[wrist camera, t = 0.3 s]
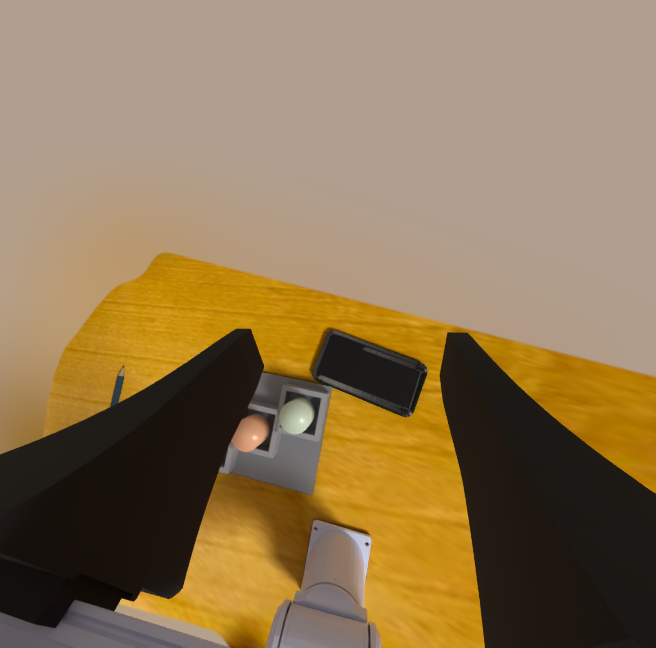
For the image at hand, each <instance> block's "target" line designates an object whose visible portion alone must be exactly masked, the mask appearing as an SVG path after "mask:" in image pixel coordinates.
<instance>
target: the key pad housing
mask: <svg viewBox="0 0 656 648" xmlns="http://www.w3.org/2000/svg"><path fill="white" fill-rule="evenodd" d="M331 390H332V387H331V386H327V385H323V384H318V383H313V382H308V381H303V380H299V379H294V378H289V377H284V376H279V375H275V374H270V373H265V372H262V375H261V378H260V381H259V384H258V387H257V389H256V391H255V394H254V396H253V398H252V400H251V402H250V404H249V406H248V408H247V410H246V412H245V414H244V416H243V418H242V419H244V418H246V417H248V416H250V415H252V414H260V415H263V416H264V417H265V418H266V419H267V420H268V422H269V425H270V433H269V435H268V437H267V439H266V440H265V441H263V442H262V443H261V444H260V445H259V446H257V447H256V448H255V449H254V450H252V451H249V452H242V451H240V450H238V449H237V448H236V447H235V446H234V445H233V443H232V440H231V442H230V444H229V447H228V449H227V451H226V453H225V456H224V459H223V461H222V464H221V467H220V469H219V472H221V473H225V474H229V473H233V474H236V475H240V476H244V477H247V478H251V479H254V480H258V481H262V482H265V483H269V484H273V485H276V486H280V487H283V488H287V489H291V490H294V491H298V492H301V493H305V494H309V495H312V494H313V489H314V484H315V478H316V473H317V467H318V462H319V456H320V451H321V445H322V440H323V434H324V429H325V423H326V418H327V412H328V407H329V401H330V395H331ZM300 397H302V398H306V399H308V400H309V401H310V402H311V403H312V404H313V406H314V409H315V417H314V419H313V421H312V423H311V424H310V425H309V426H308V427H307V429H306V430H305V431H304V432H302V433H300V434H290V433H288V432H286V431H285V430H284V429H283V428H282V426H281V424H280V421H279V414H280V411H281V409H282V407H283V406H284V405H285V404H287V403H288V402H290V401H292V400H294V399H296V398H300Z"/></svg>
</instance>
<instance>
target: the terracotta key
mask: <svg viewBox="0 0 656 648" xmlns="http://www.w3.org/2000/svg"><path fill="white" fill-rule="evenodd" d="M269 433H270V425H269V422H268V420H267V419H266V418H265V417H264V416H263V415H260V414H252V415H250V416H248V417H246V418H244V419H242V420H241V422H240V424H239V426H238V428H237V430H236V432H235V434H234V436H233V438H232V443H233V445H234V446H235V447H236V448H237V449H238V450H240V451H242V452H249V451H252V450H254V449H255V448H256V447H257V446H259V445H260V444H261V443H262V442H263V441H265V440H266V439H267V437H268V435H269Z"/></svg>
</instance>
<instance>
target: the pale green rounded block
mask: <svg viewBox="0 0 656 648" xmlns="http://www.w3.org/2000/svg"><path fill="white" fill-rule="evenodd" d="M314 417H315V409H314V406H313V404H312V403H311V402H310V401H309V400H308V399H306V398H302V397H300V398H296V399H294V400H292V401H290V402H288V403H287V404H285V405H284V406H283V407H282V409H281V411H280V414H279V421H280V424H281V426H282V428H283V429H284V430H285V431H286V432H288V433H290V434H300V433H302V432H304V431H305V430H306V429H307V427H308V426H309V425H310V424H311V423H312V421H313V419H314Z"/></svg>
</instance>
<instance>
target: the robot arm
mask: <svg viewBox="0 0 656 648" xmlns="http://www.w3.org/2000/svg"><path fill="white" fill-rule="evenodd" d="M263 368H264V364H263V362H262V359H261V356H260V353H259V351H258V348H257V345H256V342H255V339H254V337H253V334H252V331H251V329H235V330H234V331H232V332H230V333H229V334H227V335H226V336H224V337H223V338H221V339H220V340H218V341H217V342H215V343H214V344H213V345H211V346H210V347H208V348H207V349H205V350H204V351H202V352H201V353H200V354H198V355H197V356H195V357H194V358H192V359H191V360H189V361H188V362H187V363H185V364H183V365H182V366H180V367H179V368H177V369H176V370H174V371H173V372H171V373H170V374H168V375H166V376H165V377H163V378H162V379H160V380H159V381H157V382H155V383H154V384H152V385H150V386H149V387H147V388H145V389H143V390H142V391H140V392H138V393H136V394H134V395H133V396H131V397H129V398H127V399H125V400H124V401H122V402H120V403H118V404H116V405H114V406H112V407H110V408H108V409H106V410H104V411H101V412H99V413H97V414H95V415H93V416H91V417H89V418H87V419H85V420H83V421H81V422H79V423H76V424H74V425H72V426H70V427H67V428H65V429H63V430H61V431H58V432H56V433H54V434H51V435H49V436H46V437H44V438H42V439H40V440H37V441H34V442H32V443H29V444H27V445H24V446H22V447H19V448H16V449H14V450H11V451H8V452H6V453H3V454H0V648H230V647H227V646H223V645H220V644H217V643H214V642H211V641H208V640H204V639H201V638H198V637H195V636H191V635H188V634H185V633H182V632H178V631H175V630H172V629H169V628H165V627H162V626H159V625H156V624H153V623H149V622H146V621H143V620H140V619H137V618H133V617H130V616H127V615H124V614H120V613H117V612H114V611H115V609H116V607H117V605H118V604H119V602H120V600H121V598H123V599H126V600H130V601H133V602H134V601H135V600H136V599H137V597H138V595H139V593H140V592H141V591H142V592H146V593H149V594H153V595H156V596H160V597H163V598H167V599H170V598H172V597H173V596H175V595H176V594H177V593H178V592H179V591H180V590H181V589H182V588H183V585H184V581H185V577H186V573H187V570H188V566H189V562H190V559H191V555H192V552H193V548H194V544H195V541H196V537H197V534H198V531H199V528H200V525H201V521H202V518H203V515H204V512H205V509H206V506H207V503H208V500H209V497H210V494H211V491H212V488H213V486H214V483H215V480H216V477H217V474H218V472H219V469H220V467H221V464H222V461H223V459H224V456H225V453H226V451H227V449H228V447H229V444H230V442H231V440H232V438H233V436H234V434H235V432H236V430H237V428H238V426H239V424H240V422H241V420H242V418H243V416H244V414H245V412H246V410H247V408H248V406H249V404H250V402H251V400H252V398H253V396H254V394H255V391H256V389H257V387H258V384H259V381H260V378H261V375H262V372H263ZM440 382H441V390H442V398H443V404H444V408H445V412H446V416H447V420H448V424H449V428H450V432H451V436H452V439H453V443H454V447H455V451H456V455H457V459H458V463H459V467H460V471H461V476H462V481H463V486H464V492H465V499H466V505H467V511H468V518H469V525H470V531H471V538H472V545H473V552H474V560H475V567H476V575H477V583H478V591H479V598H480V607H481V616H482V625H483V633H484V642H485V648H656V494H655V493H654V492H652V491H651V490H649V489H648V488H646V487H645V486H644V485H642V484H641V483H639V482H638V481H637V480H635V479H634V478H632V477H631V476H630V475H628V474H627V473H625V472H624V471H623V470H621V469H620V468H618V467H617V466H616V465H614V464H613V463H611V462H610V461H609V460H607V459H606V458H604V457H603V456H602V455H600V454H599V453H598V452H596V451H595V450H594V449H592V448H591V447H590V446H589V445H587V444H586V443H585V442H583V441H582V440H581V439H580V438H578V437H577V436H576V435H575V434H573V433H572V432H571V431H570V430H568V429H567V428H566V427H565V426H563V425H562V424H561V423H560V422H558V421H557V420H556V419H555V418H554V417H552V416H551V415H550V414H549V413H548V412H547V411H545V410H544V409H543V408H542V407H541V406H540V405H539V404H538V403H536V402H535V401H534V400H533V399H532V398H531V397H530V396H529V395H528V394H526V393H525V392H524V391H523V390H522V389H521V388H520V387H519V386H518V385H517V384H516V383H515V382H514V381H513V380H512V379H511V378H510V377H509V376H508V375H507V374H506V373H505V372H504V371H503V370H502V369H501V368H500V367H499V366H498V365H497V364H496V363H495V362H494V361H493V360H492V359H491V357H490V356H489V355H488V354H487V353H486V352H485V351H484V350H483V349H482V348H481V347H480V346H479V344H478V343H477V342H476V341H475V340H474V339H473V338H472V337H471V336H470V335H469V334H468V333H451V332H448V333H447V338H446V344H445V349H444V355H443V360H442V366H441V371H440ZM314 527H317V529H315V528H314ZM366 542H368V543H369V544H365V543H366ZM370 547H371V536H370V535H368V534H364V533H361V532H358V531H354V530H351V529H347V528H344V527H340V526H337V525H333V524H330V523H327V522H323V521H320V520H314V522H313V526H312V531H311V537H310V542H309V548H308V554H307V559H306V565H305V570H304V576H303V582H302V585H301V589H300V591H296V593H295V597H294V600H293V603H292V602H291V600H285V601H284V602H283V603H282V604H281V605H280V606H279V607H278V609H277V611H276V614H275V617H274V620H273V623H272V626H271V630H270V634H269V637H268V641H267V646H266V648H382V645H381V636H380V633H379V632H378V630H377V628H376V625H375V623H373V622H369V624H368V625H367V609H365V608H364V585H365V579H366V573H367V566H368V560H369V553H370Z"/></svg>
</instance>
